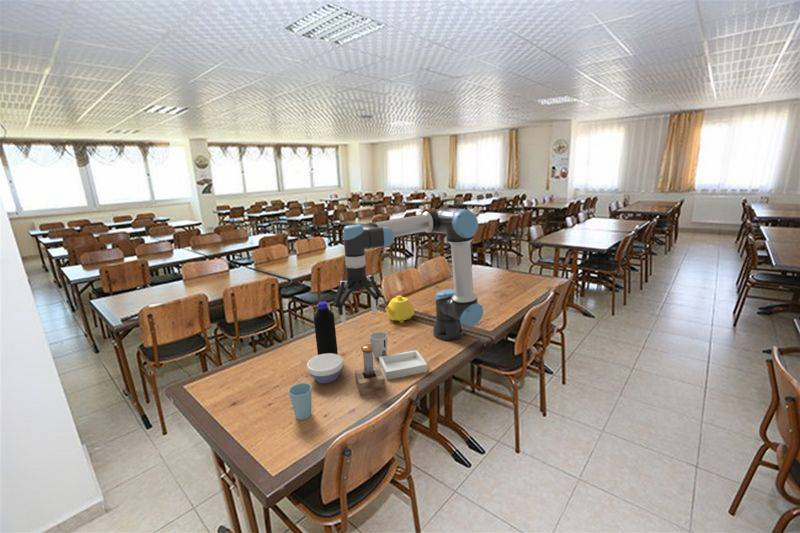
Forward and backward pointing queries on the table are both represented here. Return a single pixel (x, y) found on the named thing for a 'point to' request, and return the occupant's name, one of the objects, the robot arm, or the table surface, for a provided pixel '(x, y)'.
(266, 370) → the table surface
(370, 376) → the pin
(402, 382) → the table surface
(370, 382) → the socket block
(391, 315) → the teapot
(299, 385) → the cup
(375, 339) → the cup
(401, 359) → the tray
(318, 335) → the bottle
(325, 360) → the bowl
